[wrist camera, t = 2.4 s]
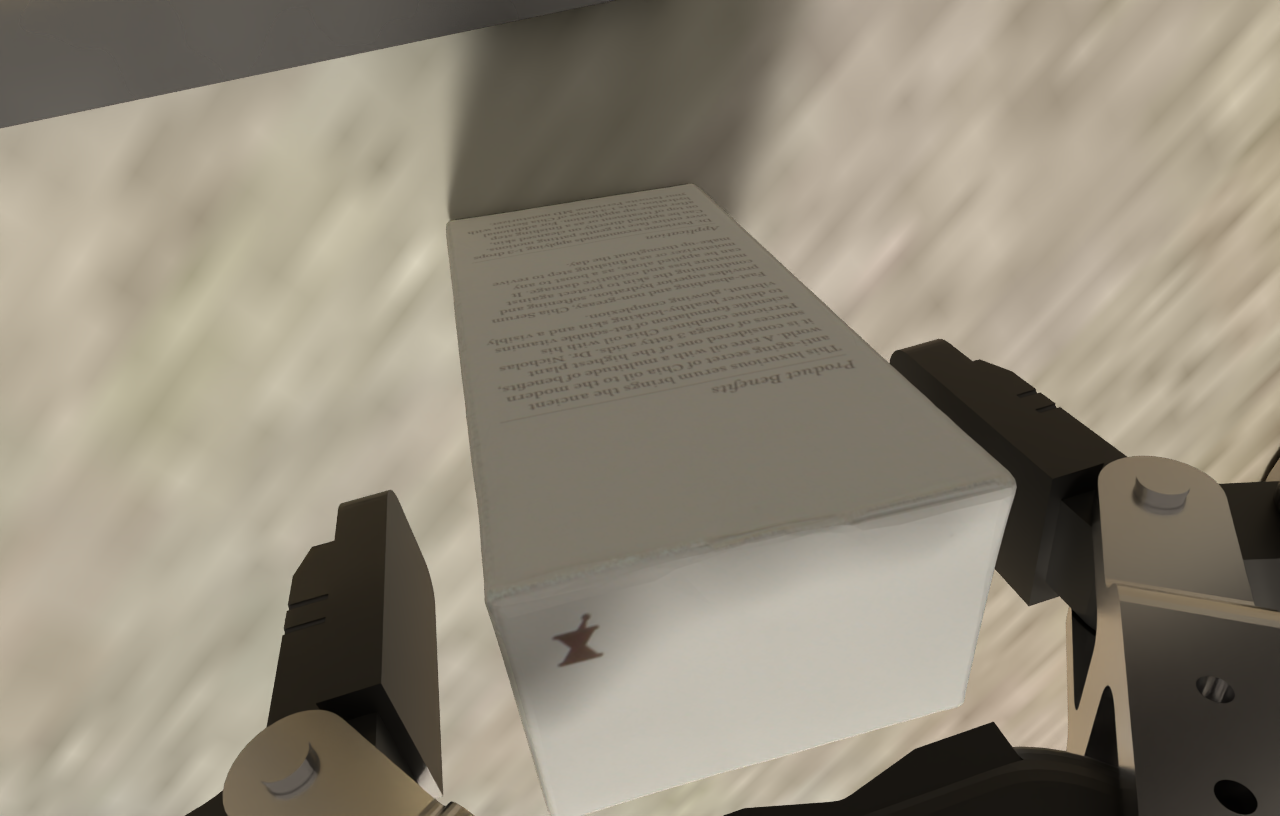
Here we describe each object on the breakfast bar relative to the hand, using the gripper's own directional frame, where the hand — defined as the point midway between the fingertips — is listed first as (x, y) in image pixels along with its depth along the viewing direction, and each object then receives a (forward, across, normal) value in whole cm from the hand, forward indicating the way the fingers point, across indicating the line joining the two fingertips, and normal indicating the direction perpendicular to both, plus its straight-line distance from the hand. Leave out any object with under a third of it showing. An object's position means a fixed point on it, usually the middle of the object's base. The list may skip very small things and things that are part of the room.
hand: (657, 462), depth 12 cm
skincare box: (+8, 0, 0) cm, 8 cm away
